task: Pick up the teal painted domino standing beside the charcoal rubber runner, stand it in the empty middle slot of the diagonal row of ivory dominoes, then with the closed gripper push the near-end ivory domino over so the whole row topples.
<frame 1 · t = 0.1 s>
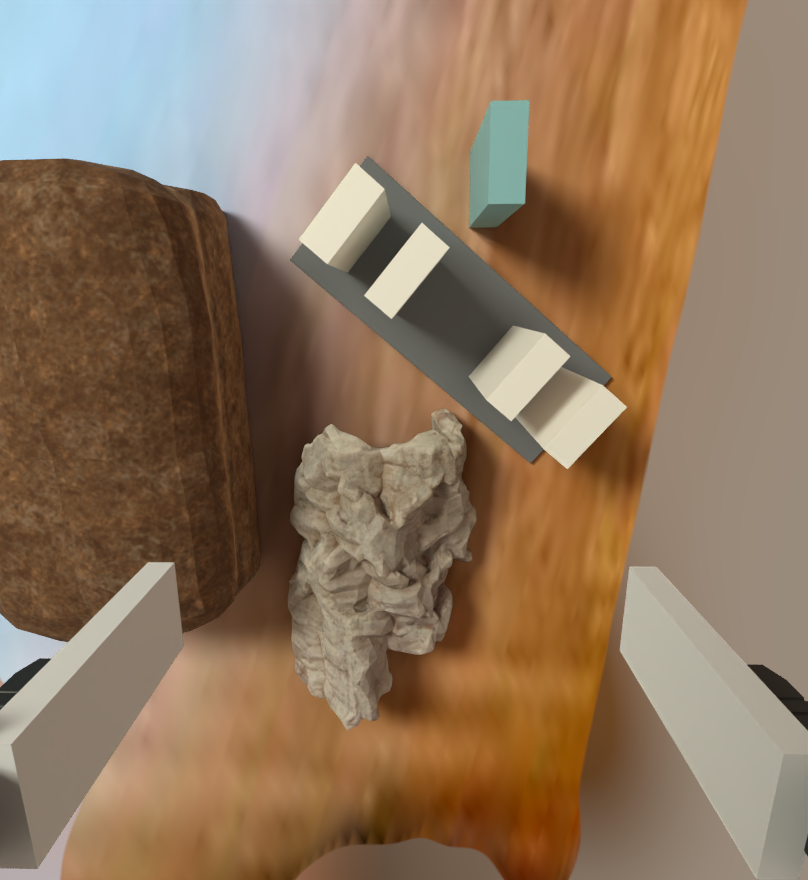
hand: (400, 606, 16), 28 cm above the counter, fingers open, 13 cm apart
domino 2: (407, 278, 40), resting on runner
domino 1: (358, 235, 39), resting on runner
runner: (454, 319, 41), on the counter
rock: (381, 548, 46), on the counter
domino 5: (544, 398, 42), resting on runner
domino 4: (500, 359, 41), resting on runner
bread: (152, 399, 43), on the counter
teal domino: (483, 190, 39), on the counter
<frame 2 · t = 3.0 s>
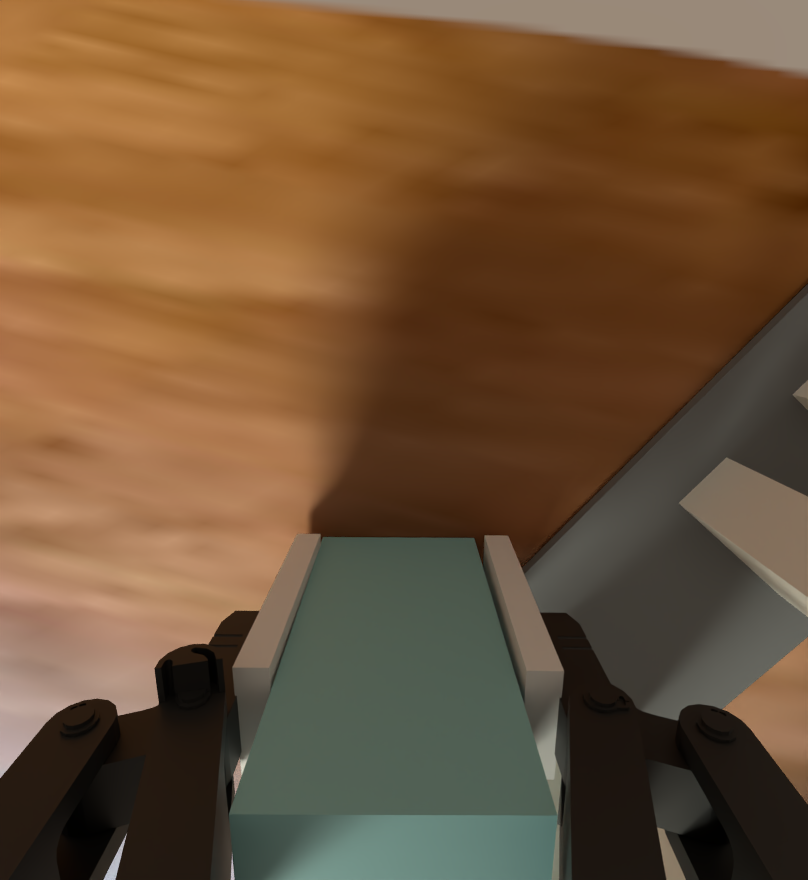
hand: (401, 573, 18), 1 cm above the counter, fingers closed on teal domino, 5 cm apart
domino 2: (552, 711, 19), resting on runner
runner: (643, 617, 19), on the counter
domino 4: (753, 528, 17), resting on runner
teal domino: (398, 565, 18), on the counter, touching gripper
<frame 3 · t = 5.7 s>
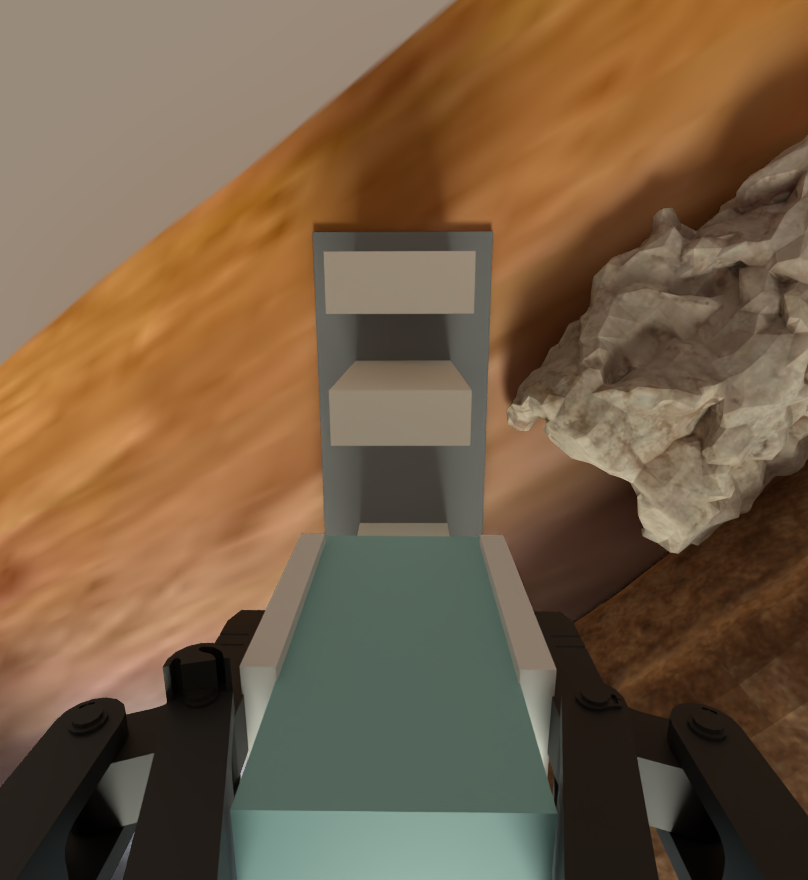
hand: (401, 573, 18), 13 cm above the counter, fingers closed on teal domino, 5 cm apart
domino 2: (403, 539, 31), resting on runner
runner: (403, 460, 30), on the counter
rock: (738, 313, 29), on the counter
domino 5: (402, 289, 28), resting on runner
domino 4: (403, 379, 29), resting on runner
bread: (690, 666, 34), on the counter
teal domino: (402, 563, 18), point 13 cm above the counter, touching gripper
when the fingers open (2 cm above the counter, at t = 7.9 s): teal domino stays where it is, resting on runner.
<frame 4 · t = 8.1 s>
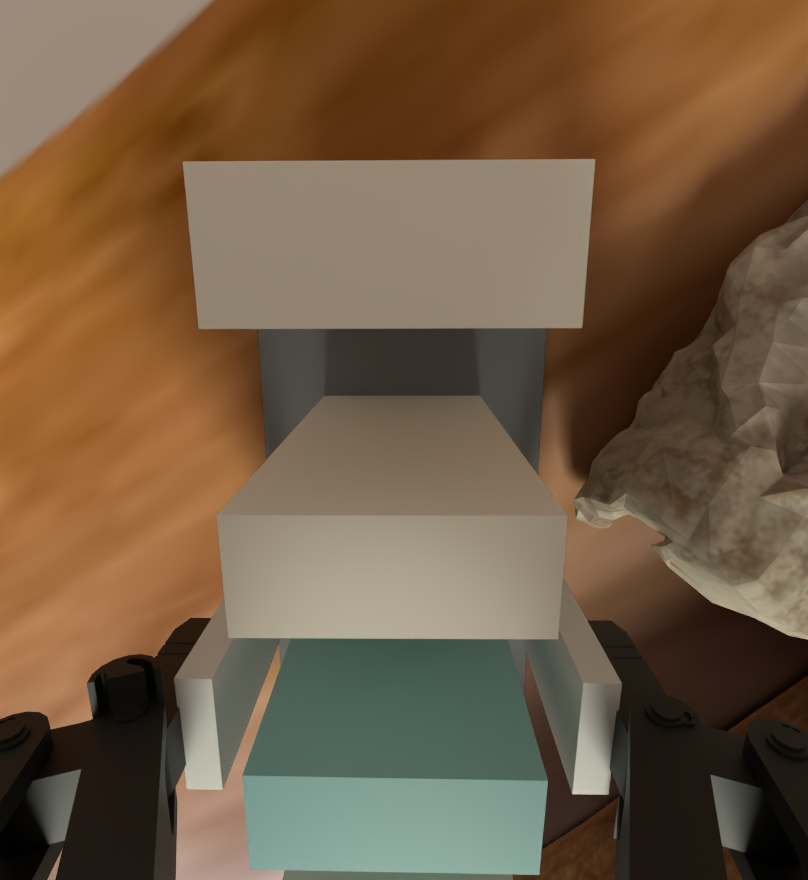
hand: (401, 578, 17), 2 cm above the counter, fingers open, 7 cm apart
domino 2: (403, 670, 20), resting on runner
runner: (402, 550, 19), on the counter
domino 5: (401, 278, 16), resting on runner
domino 4: (402, 426, 18), resting on runner
teal domino: (402, 555, 19), resting on runner
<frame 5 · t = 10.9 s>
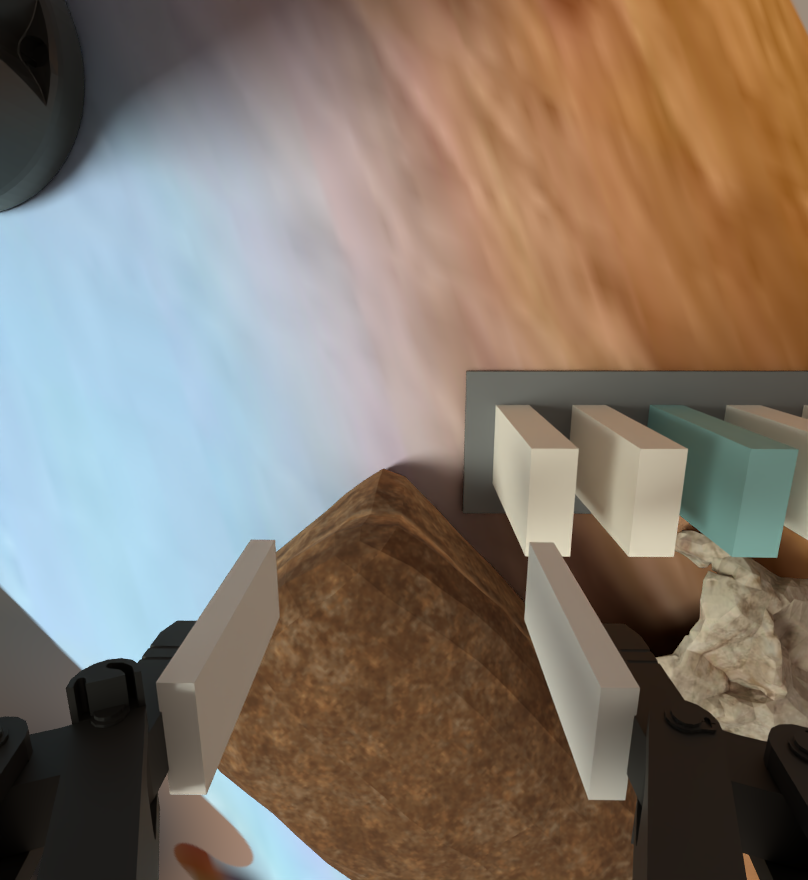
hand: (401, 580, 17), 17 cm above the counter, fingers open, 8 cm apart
domino 2: (585, 445, 33), resting on runner
domino 1: (510, 444, 33), resting on runner
runner: (658, 443, 34), on the counter
rock: (750, 673, 38), on the counter
domino 4: (736, 445, 33), resting on runner
bread: (443, 669, 38), on the counter
teal domino: (661, 445, 33), resting on runner
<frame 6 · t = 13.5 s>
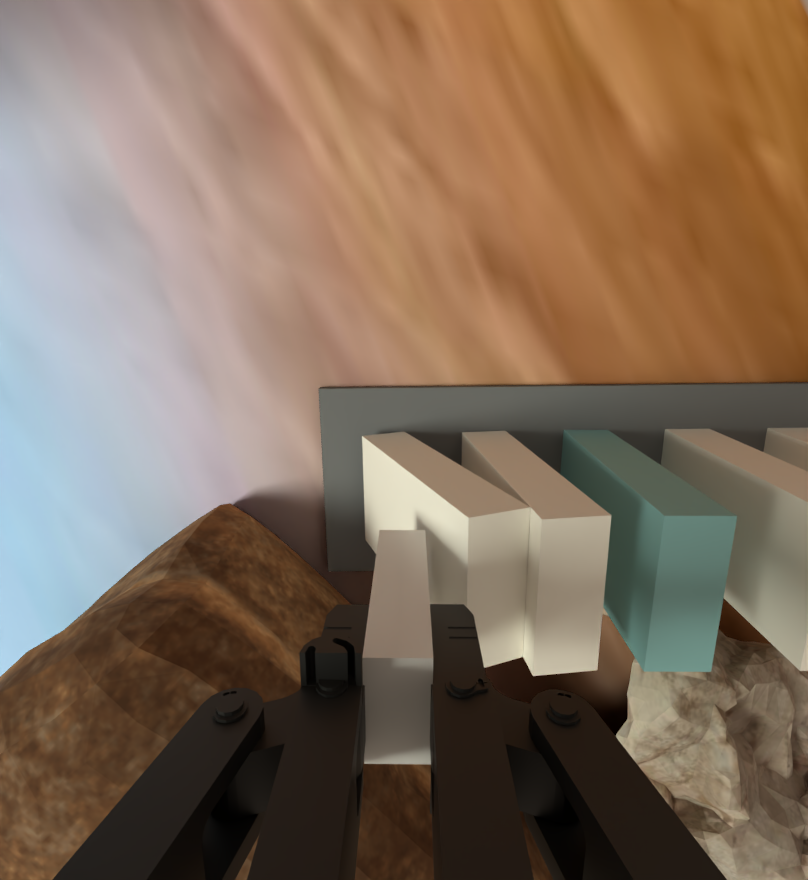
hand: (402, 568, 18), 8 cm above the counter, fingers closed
domino 2: (482, 483, 25), point 1 cm above the counter, tilted 7°, touching runner
domino 1: (384, 486, 25), point 1 cm above the counter, tilted 22°, touching runner
runner: (578, 479, 26), on the counter
rock: (717, 755, 30), on the counter
domino 5: (780, 480, 25), resting on runner
domino 4: (680, 481, 25), resting on runner
bread: (325, 752, 30), on the counter
teal domino: (581, 482, 25), resting on runner
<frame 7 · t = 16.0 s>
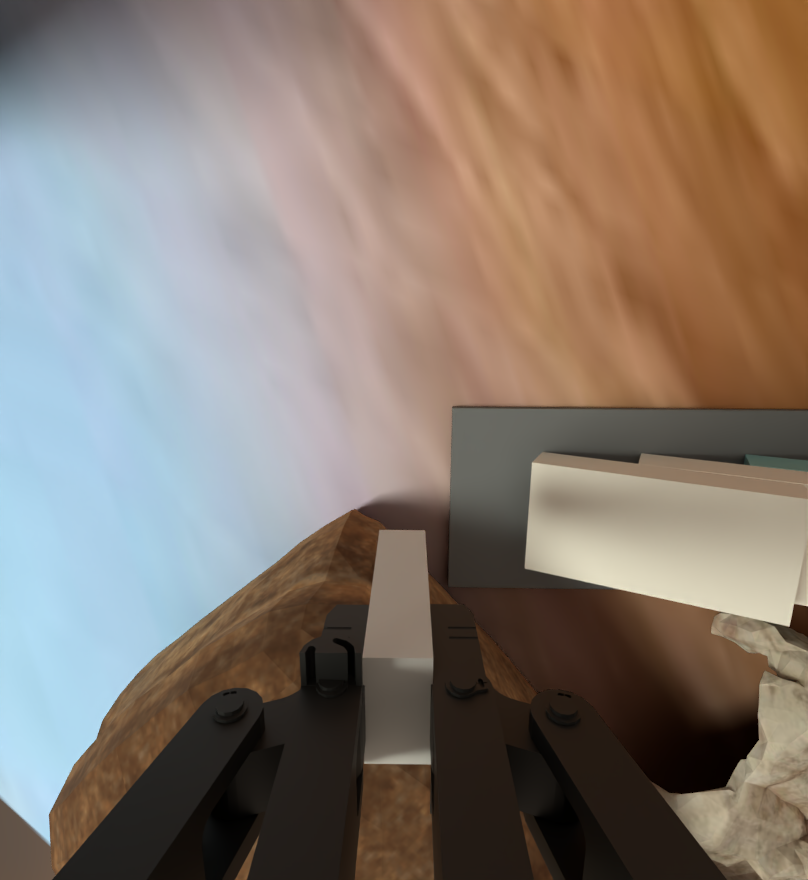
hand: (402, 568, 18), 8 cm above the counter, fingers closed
domino 2: (633, 510, 25), point 1 cm above the counter, tilted 65°, touching domino 1, runner, teal domino
domino 1: (533, 509, 25), point 1 cm above the counter, tilted 65°, touching domino 2
runner: (700, 501, 26), on the counter
bread: (424, 760, 30), on the counter
teal domino: (739, 512, 25), point 1 cm above the counter, tilted 64°, touching domino 2, domino 4, runner
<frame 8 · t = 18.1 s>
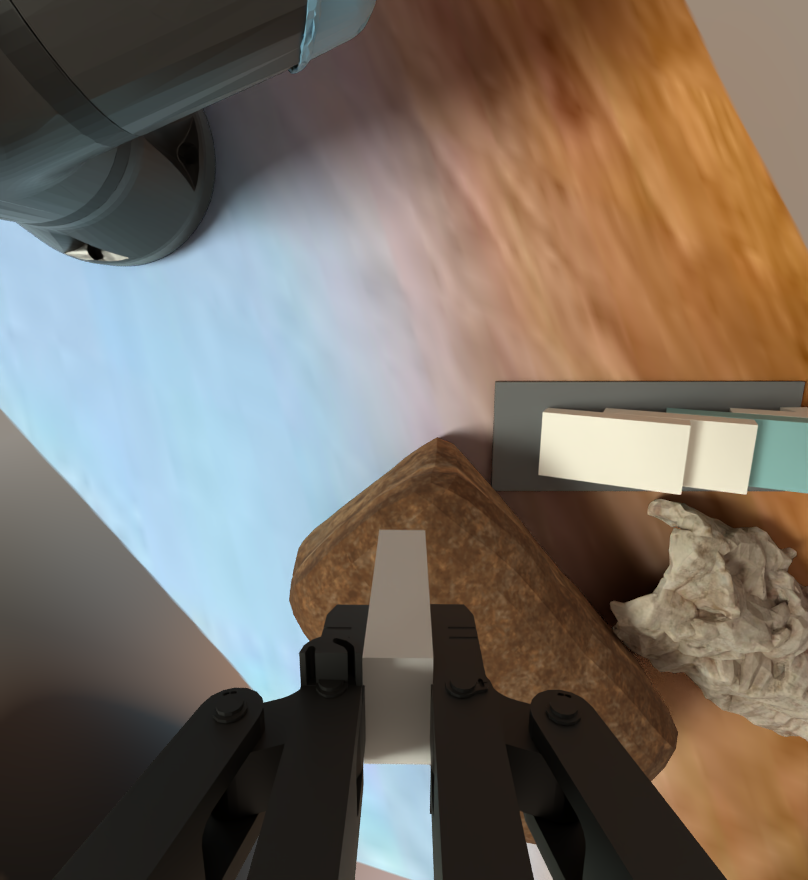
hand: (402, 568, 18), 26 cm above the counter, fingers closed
domino 2: (601, 441, 43), point 1 cm above the counter, tilted 65°, touching domino 1, runner, teal domino
domino 1: (543, 441, 43), point 1 cm above the counter, tilted 65°, touching domino 2
runner: (641, 436, 44), on the counter
rock: (725, 607, 48), on the counter
domino 4: (726, 441, 42), point 1 cm above the counter, tilted 64°, touching domino 5, teal domino
bread: (473, 601, 48), on the counter
teal domino: (662, 441, 43), point 1 cm above the counter, tilted 64°, touching domino 2, domino 4, runner
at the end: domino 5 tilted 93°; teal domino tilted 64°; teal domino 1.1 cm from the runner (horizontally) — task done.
